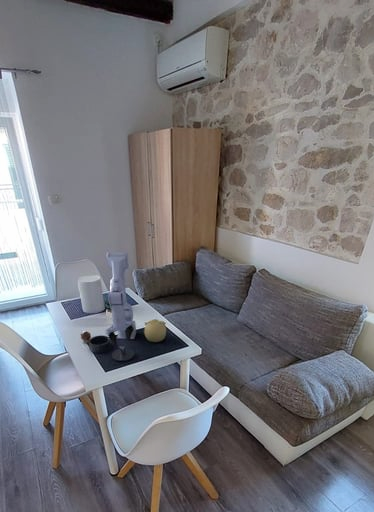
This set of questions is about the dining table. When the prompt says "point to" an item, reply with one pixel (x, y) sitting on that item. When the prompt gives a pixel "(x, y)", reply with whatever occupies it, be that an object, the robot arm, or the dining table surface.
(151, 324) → the sculpture
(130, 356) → the lid
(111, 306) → the robot arm
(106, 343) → the pot
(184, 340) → the dining table surface
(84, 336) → the mushroom
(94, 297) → the canister
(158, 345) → the dining table surface
